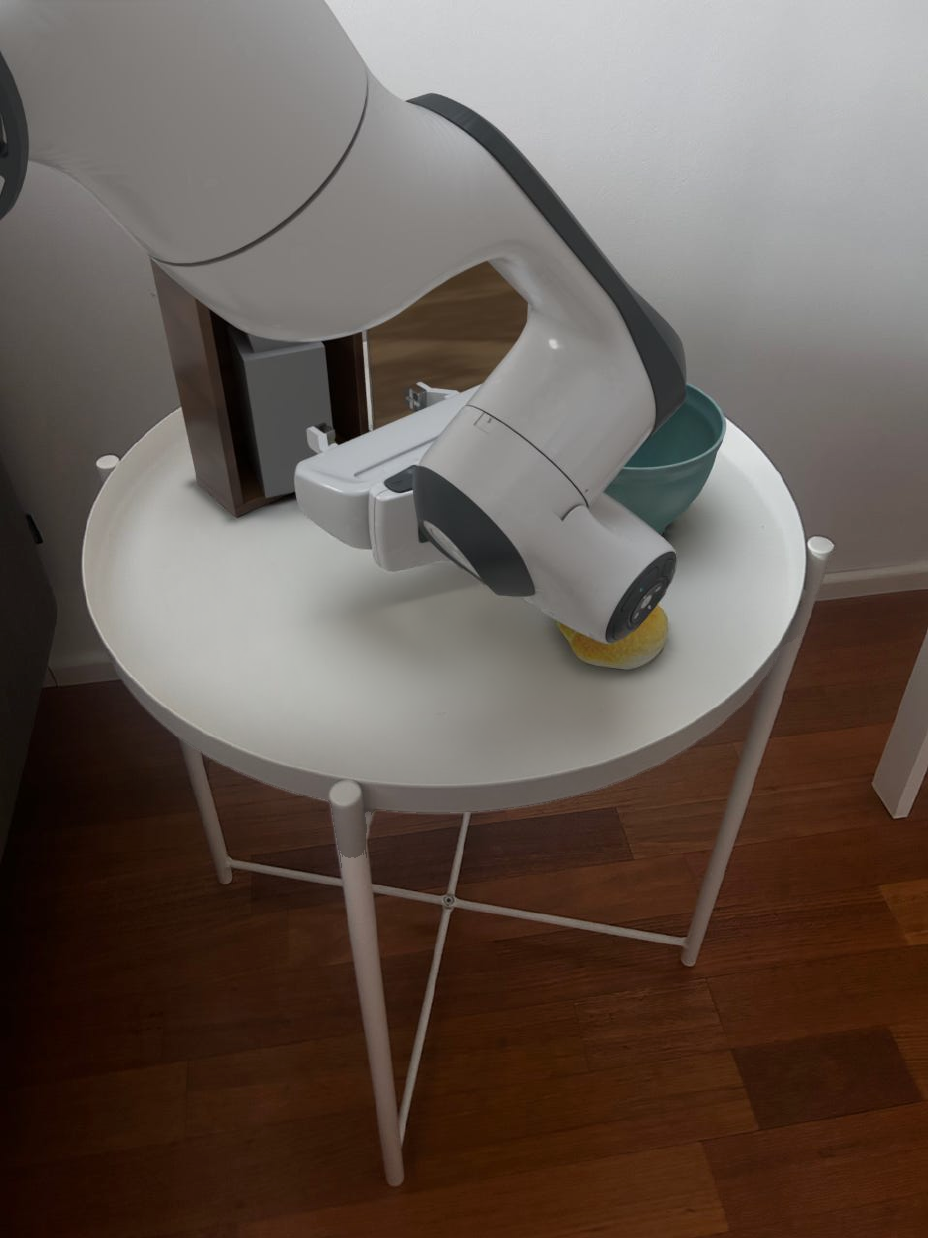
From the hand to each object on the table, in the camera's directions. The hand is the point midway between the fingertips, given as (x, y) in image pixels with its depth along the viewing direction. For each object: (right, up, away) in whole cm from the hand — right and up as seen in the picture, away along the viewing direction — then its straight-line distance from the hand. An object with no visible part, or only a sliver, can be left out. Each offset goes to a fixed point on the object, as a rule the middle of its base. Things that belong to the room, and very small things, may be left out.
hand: (364, 412), depth 79 cm
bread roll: (+19, -17, 0) cm, 26 cm away
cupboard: (-9, -2, +16) cm, 19 cm away
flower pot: (+21, -8, +11) cm, 25 cm away
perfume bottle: (-8, -3, +15) cm, 17 cm away
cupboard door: (+6, +2, +21) cm, 22 cm away
